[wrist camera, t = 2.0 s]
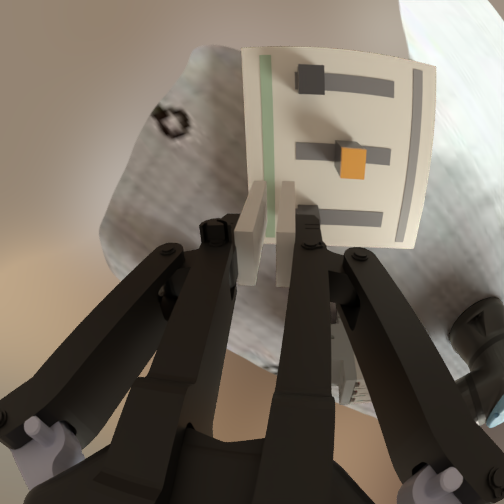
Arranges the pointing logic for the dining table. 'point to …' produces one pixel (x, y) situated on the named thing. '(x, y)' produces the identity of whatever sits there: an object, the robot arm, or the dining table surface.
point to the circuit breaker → (346, 368)
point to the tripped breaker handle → (350, 159)
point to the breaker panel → (341, 128)
